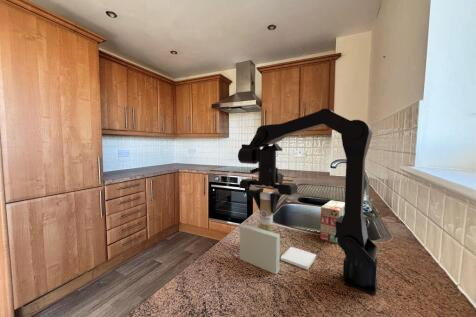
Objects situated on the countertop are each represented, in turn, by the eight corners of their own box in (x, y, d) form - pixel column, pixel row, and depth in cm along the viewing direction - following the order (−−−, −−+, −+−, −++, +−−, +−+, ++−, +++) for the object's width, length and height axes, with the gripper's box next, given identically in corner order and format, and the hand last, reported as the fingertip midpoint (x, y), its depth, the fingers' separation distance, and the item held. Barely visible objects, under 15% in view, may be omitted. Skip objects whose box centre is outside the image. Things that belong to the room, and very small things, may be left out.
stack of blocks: (336, 222, 88) (336, 195, 87) (352, 226, 84) (352, 198, 83) (319, 239, 72) (320, 206, 71) (338, 244, 68) (339, 209, 67)
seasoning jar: (257, 234, 64) (259, 193, 63) (260, 228, 68) (261, 190, 67) (272, 236, 63) (273, 194, 62) (273, 230, 67) (274, 191, 66)
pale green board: (279, 270, 53) (279, 234, 53) (276, 274, 51) (276, 237, 51) (243, 255, 60) (243, 224, 60) (239, 258, 59) (239, 226, 58)
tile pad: (316, 257, 60) (316, 254, 60) (307, 269, 53) (307, 267, 53) (291, 248, 65) (291, 246, 65) (280, 259, 58) (280, 257, 58)
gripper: (303, 164, 65) (302, 210, 66) (255, 162, 76) (255, 201, 77) (290, 167, 56) (289, 220, 57) (238, 163, 67) (238, 208, 68)
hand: (266, 211), depth 65 cm, fingers closed on seasoning jar, 4 cm apart
